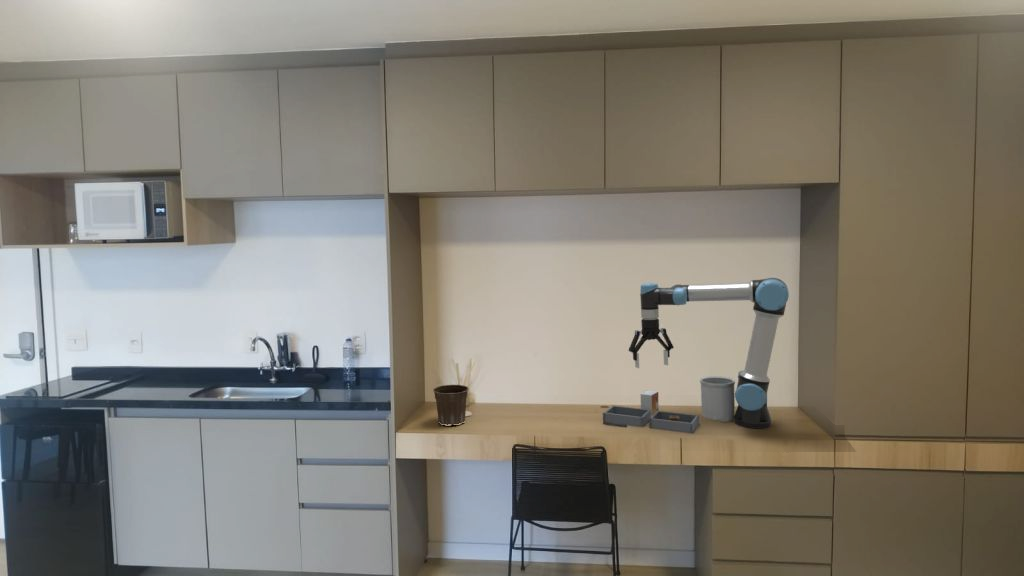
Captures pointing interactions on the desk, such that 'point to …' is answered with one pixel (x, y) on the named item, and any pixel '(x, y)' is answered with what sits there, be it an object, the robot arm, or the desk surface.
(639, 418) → the bin
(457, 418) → the plant pot
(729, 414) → the utensil holder
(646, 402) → the small box
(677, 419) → the walnut block
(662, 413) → the bin
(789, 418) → the desk surface
